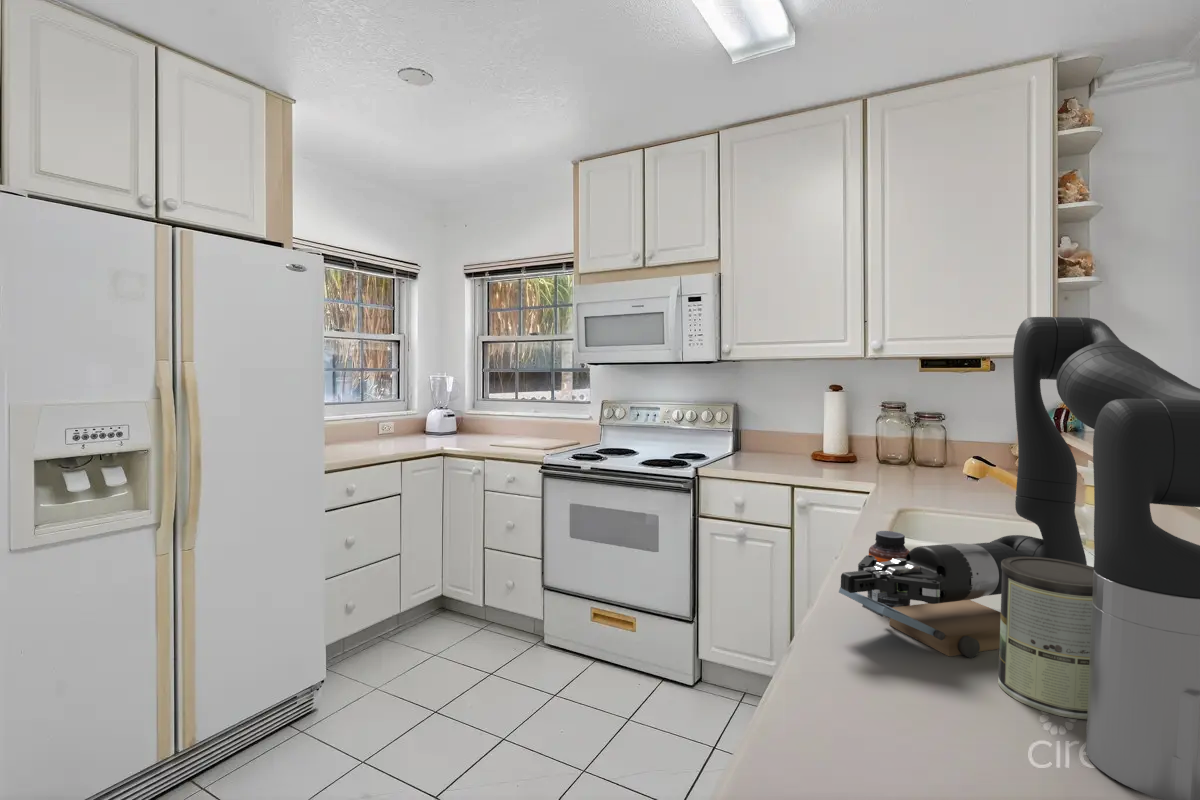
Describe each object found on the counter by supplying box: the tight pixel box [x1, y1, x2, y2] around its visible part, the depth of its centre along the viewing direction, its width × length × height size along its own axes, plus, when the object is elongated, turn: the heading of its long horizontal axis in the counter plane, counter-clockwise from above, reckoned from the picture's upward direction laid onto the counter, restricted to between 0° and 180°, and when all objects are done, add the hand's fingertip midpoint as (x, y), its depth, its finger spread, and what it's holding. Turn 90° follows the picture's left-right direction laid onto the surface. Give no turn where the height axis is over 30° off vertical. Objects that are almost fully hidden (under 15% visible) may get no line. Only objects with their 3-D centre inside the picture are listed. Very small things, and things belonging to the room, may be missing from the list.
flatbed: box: [882, 599, 1001, 659], centre depth 83 cm, size 12×15×3 cm
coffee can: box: [997, 556, 1094, 721], centre depth 67 cm, size 10×10×14 cm
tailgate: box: [838, 586, 936, 636], centre depth 80 cm, size 8×1×9 cm
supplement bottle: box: [867, 530, 911, 608], centre depth 93 cm, size 6×6×11 cm
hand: (844, 582), depth 78 cm, fingers closed
